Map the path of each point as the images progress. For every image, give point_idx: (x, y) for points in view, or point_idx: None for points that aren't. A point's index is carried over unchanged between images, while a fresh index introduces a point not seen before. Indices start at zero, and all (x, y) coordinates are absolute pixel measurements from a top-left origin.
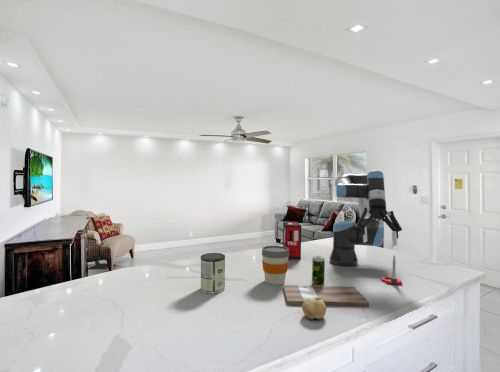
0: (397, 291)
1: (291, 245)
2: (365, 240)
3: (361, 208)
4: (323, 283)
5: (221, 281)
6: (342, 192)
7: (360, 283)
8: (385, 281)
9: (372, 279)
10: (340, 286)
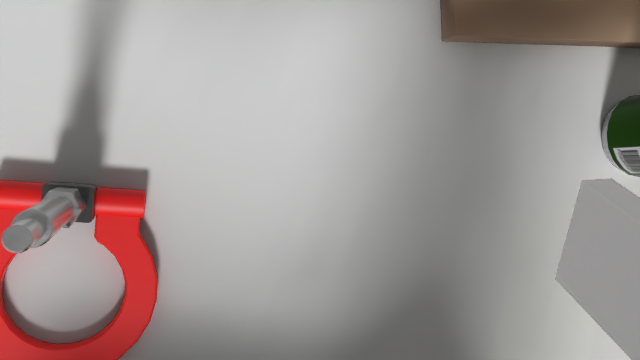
0: (121, 22)
1: None
2: (618, 191)
3: None
4: (618, 108)
5: None
6: None
7: (360, 187)
8: (139, 235)
9: (229, 304)
10: (541, 35)
